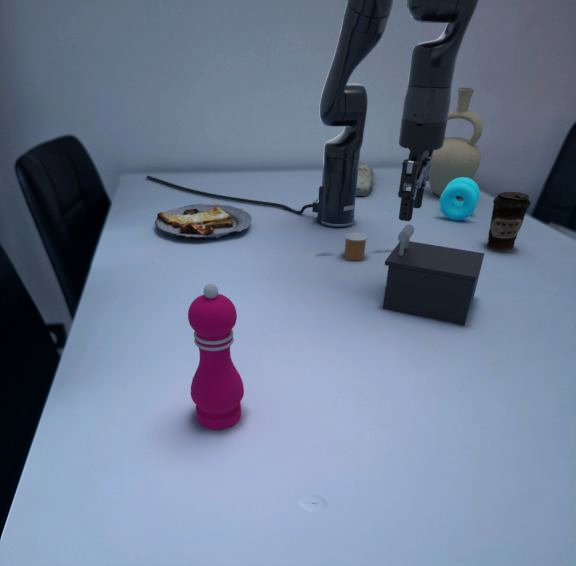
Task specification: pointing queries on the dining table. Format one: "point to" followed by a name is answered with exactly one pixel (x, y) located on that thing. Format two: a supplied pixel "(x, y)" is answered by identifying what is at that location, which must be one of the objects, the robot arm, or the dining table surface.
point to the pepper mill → (215, 361)
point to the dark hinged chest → (429, 295)
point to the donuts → (459, 208)
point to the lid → (434, 258)
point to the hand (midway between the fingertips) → (410, 213)
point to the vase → (457, 149)
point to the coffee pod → (355, 246)
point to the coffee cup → (507, 220)
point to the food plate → (203, 220)
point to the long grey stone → (364, 179)
